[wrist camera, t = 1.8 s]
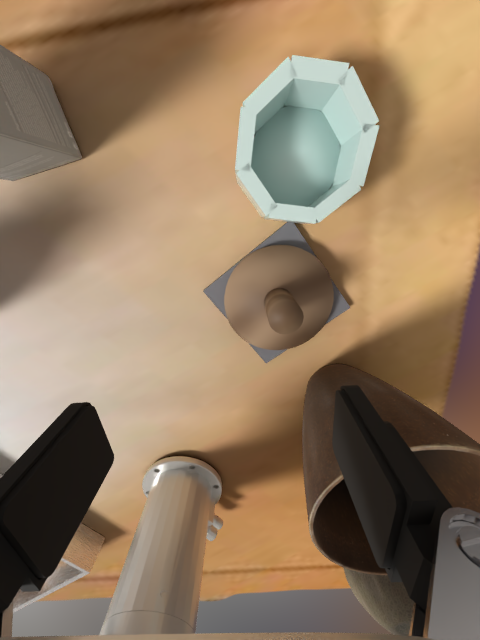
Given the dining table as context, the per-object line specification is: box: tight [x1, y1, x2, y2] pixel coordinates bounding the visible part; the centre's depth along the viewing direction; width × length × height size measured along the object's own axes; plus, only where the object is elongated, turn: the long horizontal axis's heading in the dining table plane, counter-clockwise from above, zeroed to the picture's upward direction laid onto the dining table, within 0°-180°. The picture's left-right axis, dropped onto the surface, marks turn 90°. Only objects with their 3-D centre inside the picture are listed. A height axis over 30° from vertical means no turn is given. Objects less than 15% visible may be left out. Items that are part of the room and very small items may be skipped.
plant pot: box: [302, 364, 480, 575], centre depth 25 cm, size 15×15×16 cm
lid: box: [224, 245, 334, 350], centre depth 25 cm, size 12×12×6 cm
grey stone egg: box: [343, 567, 414, 636], centre depth 34 cm, size 14×14×15 cm
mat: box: [203, 222, 350, 363], centre depth 28 cm, size 12×12×1 cm
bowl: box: [235, 55, 380, 224], centre depth 21 cm, size 10×10×5 cm
